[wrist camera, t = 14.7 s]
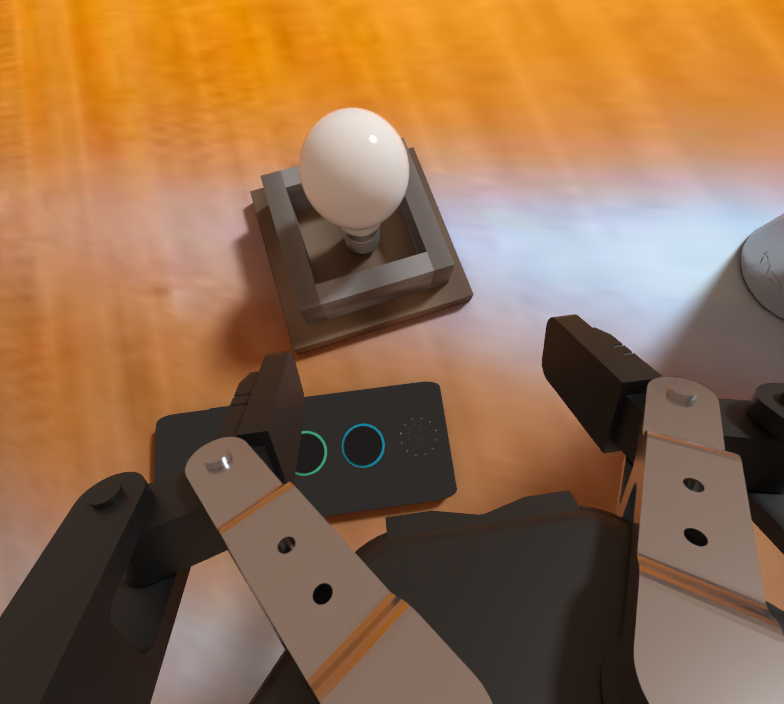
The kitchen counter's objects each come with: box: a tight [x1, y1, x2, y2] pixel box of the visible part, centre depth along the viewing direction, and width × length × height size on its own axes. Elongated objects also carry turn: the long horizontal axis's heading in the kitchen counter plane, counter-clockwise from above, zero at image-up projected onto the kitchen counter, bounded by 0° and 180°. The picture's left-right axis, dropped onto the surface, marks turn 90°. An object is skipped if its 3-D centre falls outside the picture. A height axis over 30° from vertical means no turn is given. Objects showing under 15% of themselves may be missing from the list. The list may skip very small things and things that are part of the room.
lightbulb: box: [299, 107, 409, 254], centre depth 25 cm, size 6×6×11 cm
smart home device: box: [155, 382, 457, 517], centre depth 27 cm, size 8×2×20 cm
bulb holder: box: [250, 138, 473, 354], centre depth 29 cm, size 14×14×4 cm
